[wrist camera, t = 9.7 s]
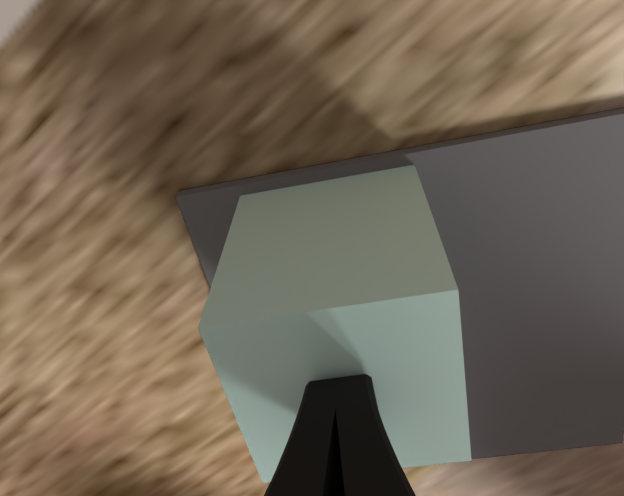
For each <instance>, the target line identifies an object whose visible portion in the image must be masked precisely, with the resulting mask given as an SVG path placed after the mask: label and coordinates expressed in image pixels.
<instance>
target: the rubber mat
mask: <svg viewBox="0 0 624 496" xmlns="http://www.w3.org/2000/svg"><path fill="white" fill-rule="evenodd" d="M409 165H415V167H416V170H417V173H418V176H419V179H420V181H421V184H422V187H423V190H424V193H425V196H426V199H427V201H428V204H429V207H430V210H431V213H432V216H433V219H434V221H435V224H436V227H437V230H438V233H439V236H440V239H441V241H442V244H443V247H444V250H445V253H446V256H447V259H448V261H449V264H450V267H451V270H452V273H453V276H454V279H455V281H456V284H457V287H458V292H459V305H460V318H461V331H462V344H463V357H464V370H465V383H466V396H467V409H468V422H469V435H470V448H471V459H477V458H487V457H496V456H505V455H515V454H524V453H533V452H543V451H552V450H561V449H571V448H580V447H589V446H599V445H608V444H617V443H622V441H623V434H624V108H620V109H615V110H609V111H604V112H599V113H593V114H588V115H583V116H577V117H572V118H566V119H561V120H556V121H550V122H545V123H540V124H534V125H529V126H524V127H518V128H513V129H508V130H502V131H497V132H492V133H486V134H481V135H476V136H470V137H465V138H460V139H454V140H449V141H443V142H438V143H433V144H427V145H422V146H417V147H411V148H406V149H401V150H395V151H390V152H385V153H379V154H374V155H369V156H363V157H358V158H353V159H347V160H342V161H337V162H331V163H326V164H320V165H315V166H310V167H304V168H299V169H294V170H288V171H283V172H278V173H272V174H267V175H262V176H256V177H251V178H246V179H240V180H235V181H230V182H224V183H219V184H214V185H208V186H203V187H197V188H192V189H187V190H181V191H178V193H177V195H176V196H175V198H176V200H177V203H178V205H179V208H180V211H181V213H182V216H183V218H184V221H185V224H186V226H187V229H188V231H189V234H190V236H191V239H192V242H193V244H194V247H195V249H196V252H197V255H198V257H199V260H200V262H201V265H202V268H203V270H204V273H205V275H206V278H207V280H208V283H209V286H210V288H211V285H212V282H213V279H214V276H215V273H216V270H217V267H218V264H219V260H220V257H221V254H222V251H223V248H224V245H225V242H226V239H227V235H228V232H229V229H230V226H231V223H232V220H233V217H234V213H235V210H236V207H237V204H238V201H239V198H240V196H242V195H247V194H253V193H258V192H264V191H270V190H275V189H281V188H286V187H292V186H298V185H303V184H309V183H314V182H320V181H325V180H331V179H337V178H342V177H348V176H353V175H359V174H365V173H370V172H376V171H381V170H387V169H393V168H398V167H404V166H409Z"/></svg>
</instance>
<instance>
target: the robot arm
mask: <svg viewBox="0 0 624 496" xmlns="http://www.w3.org/2000/svg"><path fill="white" fill-rule="evenodd" d="M264 496H416V495H415V493H414V492H413V490H412V488H411V486H410V484H409V482H408V480H407V478H406V476H405V474H404V472H403V469H402V467H401V465H400V463H399V461H398V459H397V456H396V454H395V452H394V449H393V447H392V445H391V443H390V440H389V438H388V435H387V433H386V430H385V428H384V425H383V422H382V419H381V416H380V414H379V410H378V405H377V401H376V396H375V391H374V386H373V382H372V377H370V376H369V375H367V374H360V375H353V376H345V377H338V378H330V379H323V380H315V381H309V383H308V384H307V385H306V387H305V390H304V394H303V398H302V401H301V404H300V407H299V411H298V414H297V417H296V419H295V422H294V425H293V428H292V431H291V433H290V436H289V439H288V441H287V444H286V446H285V449H284V451H283V454H282V456H281V458H280V461H279V463H278V466H277V468H276V471H275V473H274V475H273V478H272V480H271V482H270V484H269V486H268V488H267V490H266V492H265V495H264Z"/></svg>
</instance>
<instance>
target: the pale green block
mask: <svg viewBox="0 0 624 496" xmlns="http://www.w3.org/2000/svg"><path fill="white" fill-rule="evenodd" d="M198 329H199V331H200V334H201V336H202V339H203V341H204V343H205V346H206V348H207V351H208V353H209V355H210V358H211V360H212V362H213V365H214V367H215V370H216V372H217V374H218V377H219V379H220V382H221V384H222V386H223V389H224V391H225V394H226V396H227V398H228V401H229V403H230V406H231V408H232V410H233V413H234V415H235V418H236V420H237V422H238V425H239V427H240V430H241V432H242V434H243V437H244V439H245V441H246V444H247V446H248V449H249V451H250V453H251V456H252V458H253V461H254V463H255V465H256V468H257V470H258V473H259V475H260V477H261V480H262V482H263V483H264V482H271V480H272V478H273V475H274V473H275V471H276V468H277V466H278V463H279V461H280V458H281V456H282V454H283V451H284V449H285V446H286V444H287V441H288V439H289V436H290V433H291V431H292V428H293V425H294V422H295V419H296V417H297V414H298V411H299V407H300V404H301V401H302V398H303V394H304V390H305V387H306V385H307V384H308V383H309V381H315V380H323V379H330V378H338V377H345V376H353V375H360V374H367V375H369V376H370V377H372V382H373V386H374V391H375V396H376V401H377V405H378V410H379V414H380V416H381V419H382V422H383V425H384V428H385V430H386V433H387V435H388V438H389V440H390V443H391V445H392V447H393V449H394V452H395V454H396V456H397V459H398V461H399V463H400V465H401V467H402V468H407V467H417V466H426V465H436V464H446V463H455V462H465V461H471V448H470V435H469V422H468V409H467V396H466V383H465V370H464V357H463V344H462V331H461V318H460V305H459V292H458V287H457V284H456V281H455V279H454V276H453V273H452V270H451V267H450V264H449V261H448V259H447V256H446V253H445V250H444V247H443V244H442V241H441V239H440V236H439V233H438V230H437V227H436V224H435V221H434V219H433V216H432V213H431V210H430V207H429V204H428V201H427V199H426V196H425V193H424V190H423V187H422V184H421V181H420V179H419V176H418V173H417V170H416V167H415V165H409V166H404V167H398V168H393V169H387V170H381V171H376V172H370V173H365V174H359V175H353V176H348V177H342V178H337V179H331V180H325V181H320V182H314V183H309V184H303V185H298V186H292V187H286V188H281V189H275V190H270V191H264V192H258V193H253V194H247V195H242V196H240V198H239V201H238V204H237V207H236V210H235V213H234V217H233V220H232V223H231V226H230V229H229V232H228V235H227V239H226V242H225V245H224V248H223V251H222V254H221V257H220V260H219V264H218V267H217V270H216V273H215V276H214V279H213V282H212V285H211V289H210V292H209V295H208V298H207V301H206V304H205V307H204V311H203V314H202V317H201V320H200V323H199V326H198Z"/></svg>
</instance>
